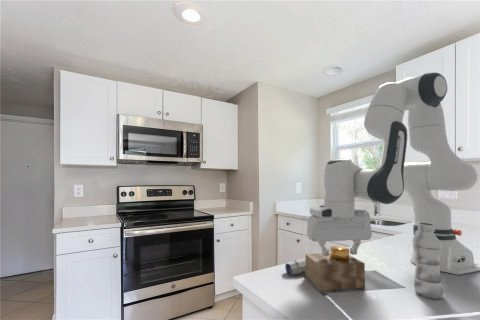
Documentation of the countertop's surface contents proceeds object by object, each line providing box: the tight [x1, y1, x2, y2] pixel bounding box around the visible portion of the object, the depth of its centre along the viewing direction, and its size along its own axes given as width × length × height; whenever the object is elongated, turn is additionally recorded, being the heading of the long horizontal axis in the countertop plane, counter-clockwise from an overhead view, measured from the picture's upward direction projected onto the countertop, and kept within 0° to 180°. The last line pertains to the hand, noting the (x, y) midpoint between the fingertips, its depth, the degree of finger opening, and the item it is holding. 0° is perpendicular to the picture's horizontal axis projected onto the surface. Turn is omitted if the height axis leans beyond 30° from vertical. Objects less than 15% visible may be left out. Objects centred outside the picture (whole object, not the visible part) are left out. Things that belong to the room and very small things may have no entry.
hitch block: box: [303, 252, 406, 296], centre depth 77 cm, size 26×13×8 cm, turn 99°
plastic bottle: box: [411, 223, 444, 301], centre depth 69 cm, size 6×7×20 cm
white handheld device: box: [284, 258, 306, 277], centre depth 87 cm, size 5×7×25 cm
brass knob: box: [330, 245, 350, 261], centre depth 77 cm, size 5×5×10 cm
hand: (339, 254), depth 77 cm, fingers open, 8 cm apart
